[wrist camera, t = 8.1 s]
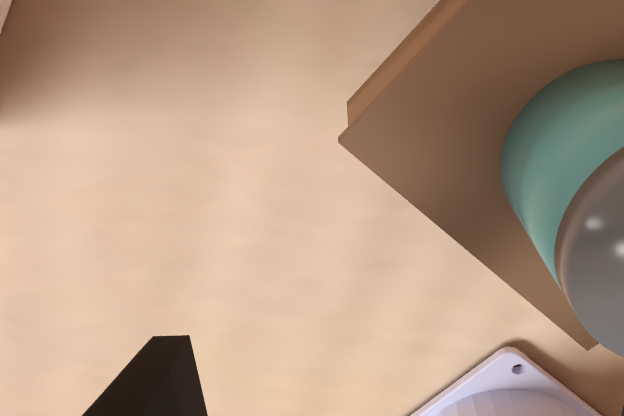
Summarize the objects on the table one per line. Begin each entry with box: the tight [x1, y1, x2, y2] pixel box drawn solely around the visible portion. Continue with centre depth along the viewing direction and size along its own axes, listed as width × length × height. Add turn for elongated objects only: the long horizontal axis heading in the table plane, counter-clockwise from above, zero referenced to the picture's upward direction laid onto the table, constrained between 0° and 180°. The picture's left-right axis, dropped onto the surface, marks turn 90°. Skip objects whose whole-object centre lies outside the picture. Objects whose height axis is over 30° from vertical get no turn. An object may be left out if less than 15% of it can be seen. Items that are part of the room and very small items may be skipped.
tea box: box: [338, 0, 624, 351], centre depth 16 cm, size 10×8×4 cm
